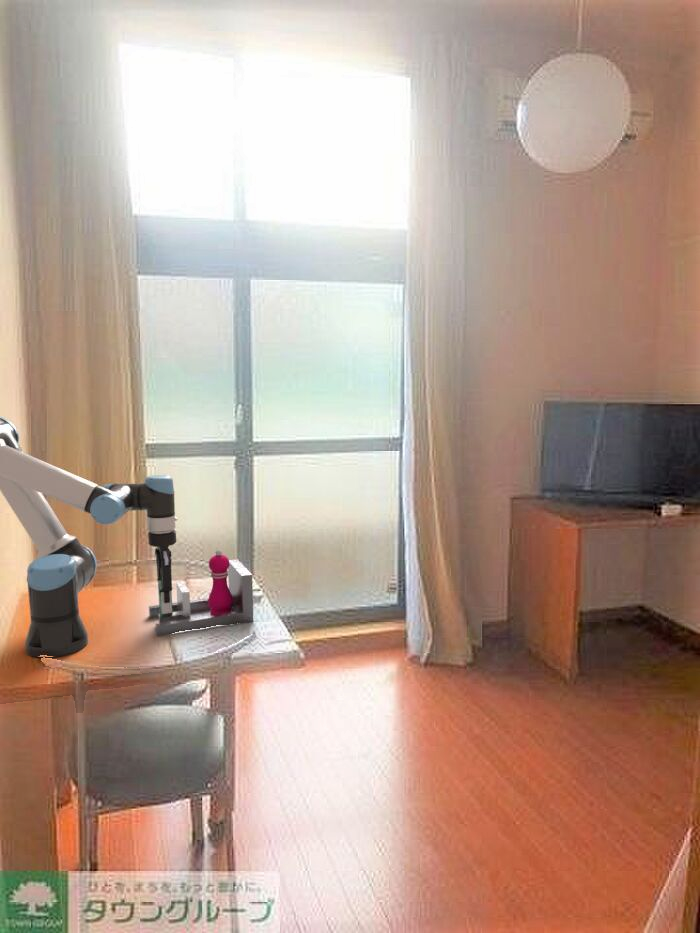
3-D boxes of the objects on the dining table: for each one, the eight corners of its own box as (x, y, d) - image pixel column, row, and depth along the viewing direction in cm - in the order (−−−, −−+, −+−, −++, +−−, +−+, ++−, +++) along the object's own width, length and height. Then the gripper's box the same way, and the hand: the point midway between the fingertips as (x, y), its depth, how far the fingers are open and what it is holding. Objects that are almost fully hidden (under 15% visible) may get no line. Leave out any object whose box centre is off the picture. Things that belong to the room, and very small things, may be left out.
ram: (161, 630, 188) (159, 587, 186) (156, 618, 197) (154, 577, 195) (190, 625, 191) (189, 583, 189) (184, 614, 200) (182, 573, 198)
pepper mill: (236, 611, 202) (234, 546, 199) (229, 620, 195) (227, 553, 192) (212, 610, 203) (210, 546, 200) (205, 619, 196) (202, 553, 193)
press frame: (157, 636, 184) (154, 587, 182) (149, 616, 199) (146, 570, 197) (253, 621, 194) (252, 574, 192) (238, 602, 210) (237, 559, 208)
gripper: (180, 535, 183) (184, 618, 186) (171, 522, 198) (174, 599, 201) (151, 538, 180) (156, 622, 183) (144, 525, 195) (148, 603, 199)
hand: (165, 610), depth 192 cm, fingers closed on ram, 4 cm apart
